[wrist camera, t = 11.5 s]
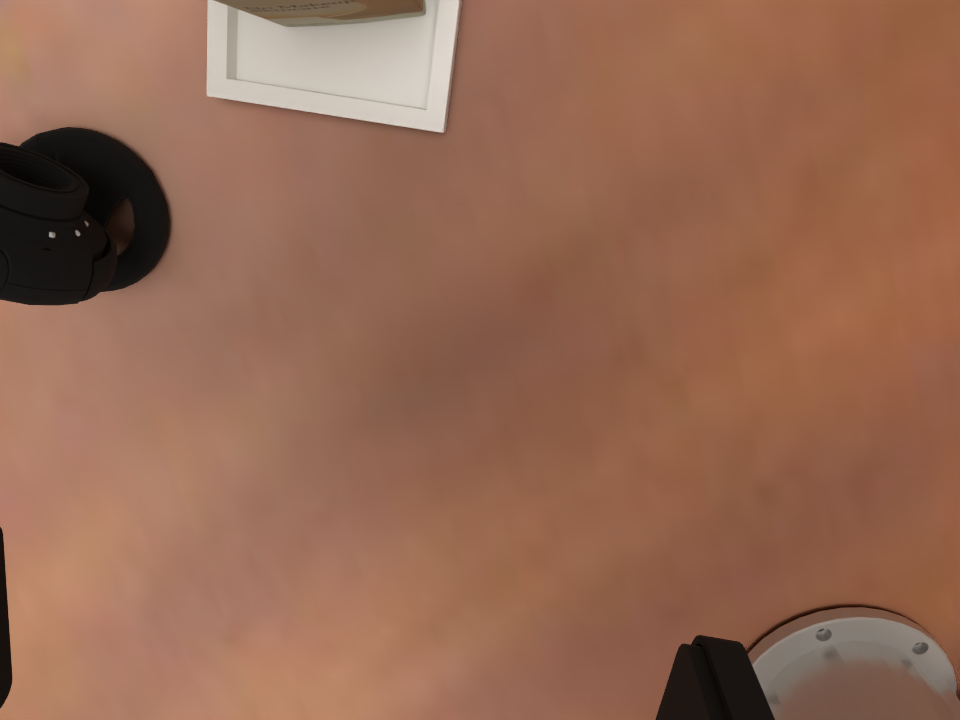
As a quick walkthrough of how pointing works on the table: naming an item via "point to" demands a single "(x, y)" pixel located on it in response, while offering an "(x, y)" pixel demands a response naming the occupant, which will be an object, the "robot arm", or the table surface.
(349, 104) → the tray
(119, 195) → the webcam
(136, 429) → the table surface
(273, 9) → the skincare box
